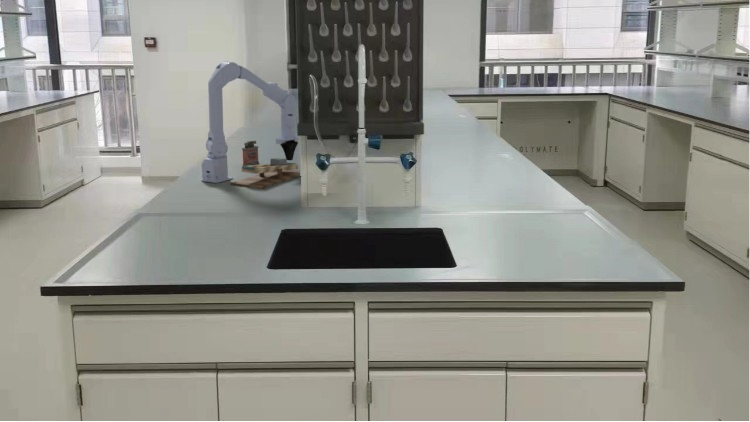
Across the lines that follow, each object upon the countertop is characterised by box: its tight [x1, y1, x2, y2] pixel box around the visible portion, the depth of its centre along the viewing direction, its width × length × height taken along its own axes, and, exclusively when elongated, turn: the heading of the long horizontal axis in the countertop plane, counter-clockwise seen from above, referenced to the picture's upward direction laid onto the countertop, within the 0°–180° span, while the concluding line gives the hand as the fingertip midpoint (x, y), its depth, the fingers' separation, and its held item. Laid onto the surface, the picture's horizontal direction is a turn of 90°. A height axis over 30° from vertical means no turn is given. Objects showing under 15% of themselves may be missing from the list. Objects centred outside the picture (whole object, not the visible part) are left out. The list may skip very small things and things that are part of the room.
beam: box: [241, 161, 299, 175], centre depth 270 cm, size 27×7×2 cm, turn 152°
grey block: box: [269, 157, 288, 166], centre depth 274 cm, size 5×4×3 cm
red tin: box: [241, 140, 260, 166], centre depth 299 cm, size 8×3×10 cm, turn 143°
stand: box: [230, 168, 301, 190], centre depth 271 cm, size 30×14×4 cm, turn 152°
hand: (289, 160), depth 280 cm, fingers closed
